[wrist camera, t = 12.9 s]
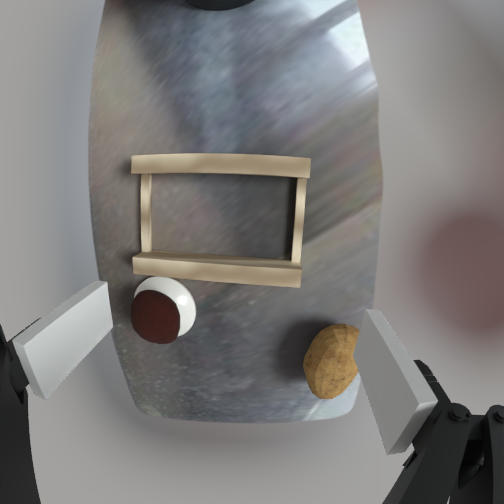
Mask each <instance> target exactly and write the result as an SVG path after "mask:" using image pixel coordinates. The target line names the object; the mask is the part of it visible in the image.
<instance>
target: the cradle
mask: <svg viewBox="0 0 504 504" xmlns="http://www.w3.org/2000/svg"><path fill="white" fill-rule="evenodd" d="M310 163H311V158H300V157H287V156H272V155H252V154H212V153H197V154H157V155H138V156H132V165H131V174H141V242H142V252H141V253H139V254H137V255H135V256H134V257H132V258H133V272H134V274H142V275H151V276H161V277H171V278H182V279H193V280H204V281H216V282H228V283H241V284H254V285H269V286H284V287H300V284H301V275H302V268H301V265H300V256H301V245H302V234H303V222H304V209H305V195H306V179H307V178H310ZM153 173H216V174H246V175H266V176H282V177H295V178H297V188H296V204H295V218H294V231H293V243H292V255H291V260H283V259H268V258H253V257H238V256H224V255H209V254H195V253H181V252H167V251H153V250H152V243H151V176H152V174H153Z"/></svg>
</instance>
